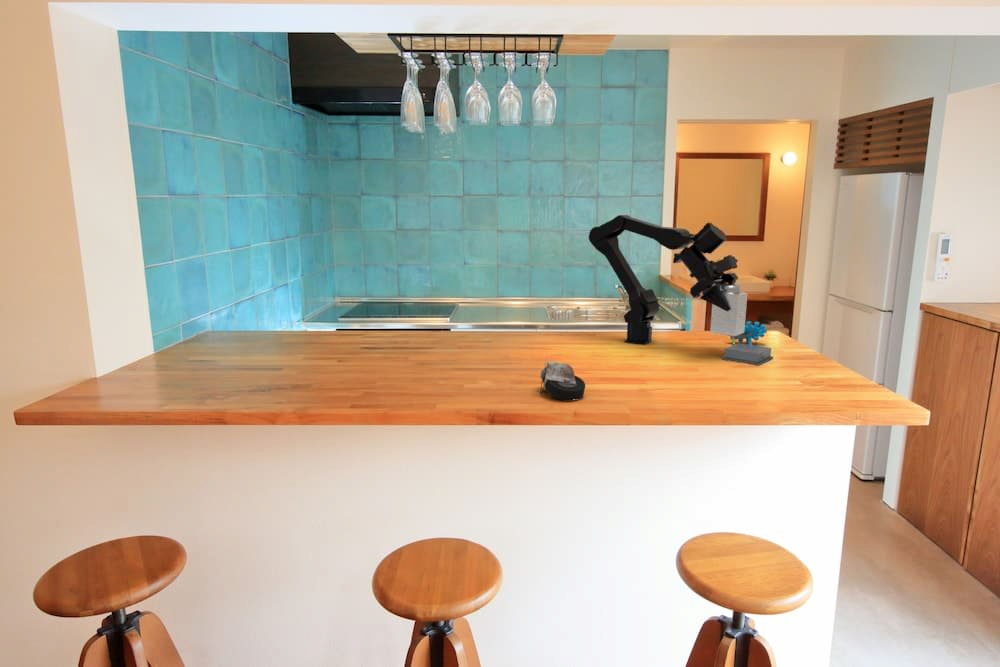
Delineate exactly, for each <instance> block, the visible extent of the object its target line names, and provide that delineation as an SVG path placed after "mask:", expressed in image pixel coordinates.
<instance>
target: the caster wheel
mask: <svg viewBox="0 0 1000 667" xmlns="http://www.w3.org/2000/svg"><path fill="white" fill-rule="evenodd" d="M546 363H547V364H546ZM540 380H541V384H540V390H539V393H541V392H542V387H543V390H544V391H547V393H548V394H549V395H550V396H551V397H552V398H554V399H557V400H560V401H564V400H573V399H579V398H581V397H582V398H584V395H585V389H586V383H585V381H584V379H582V378H581V377H579V376H577V375H575V371H574V368H573V367H572V366H571V365H570V364H568V363H563V362H558V361H552V360H548V361H547V355H546V356H545V361H544V367H543V369H542V370H541V371H540ZM542 385H543V386H542ZM582 398H581V399H582ZM579 400H580V399H579Z"/></svg>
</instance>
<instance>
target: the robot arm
mask: <svg viewBox="0 0 1000 667" xmlns="http://www.w3.org/2000/svg"><path fill="white" fill-rule="evenodd" d="M625 231H628V232H631V233H634V234H637V235H639V236H642V237H646V238H649V239H652V240H654V241H656V242H657V243H658V244H659V245H661V246H663V247H665V248H666V249H668V250H670V251H672V250H681V251H680V252H679V253H677V252H676V253H673V259H672V260H673V261H672V263H673V264H679V263H682V264H684V266H685V267H686V268H687V269H688V271H689V272H690V274H689V277H691V279H692V278H695V279H696V281H697V282H696V283H695V284H693V285H692V286H691V287H690V290H689V293H690V295H691V297H692V298H693V299H698V298H699V299H700V300H703V301H705V302H708V303H710V304H711V305H712V304H713V305H715V306H717V307H719V308H721V309H723V310H725V311H729V310H730V307H729V305H728V303H727V302H726V300H725V299H724V297H723V295H722V294H721V292H720V291H721V285H723V284H733V285H736V281H738V279H739V277H738V275H737V274H736V273H735V272H727V271H730V270H733V269H737V268H738V264H737V263H738V261H739V260H738V259H737V258H736V257H735V256H733V254H728V255H726V256H723V258H722V259H721V260H720V259H719V260H717V261H714V260H709V259H708V258H707V257H706V255H705V254H709V255H711V254H713V253H714V252H715V250H718V248H719V247H720V246H721V245H723V243H725V242H726V241H727V239H728V238H727V235H726V233H725V232H724V231H723V230H722V229H720V228H719V227H717V226H716V225H714V224H713V223H712V222H706V224H704V226H703V227H702V229H700V230H699V231H698V232H697V233H695V234H694V233H690V231H689V230H688V229H686V228H680V227H668V226H661V225H659V224H655V223H652V222H649V221H645V220H641V219H638V218H635V217H632V216H630V215H628V214H619V215H616V216H615V217H614V218H612V219H610V220H608V221H606V222H605V223H603V224H601V225H599V226H594V227H592V228H591V229H590V231H589V233H588V234H589V235H588V240H589V243H590V244H591V245H592V246H593V247H594V248H595V250H597V251H598V252H599V253H601V254H602V255H603V256H604V257H605V258H606V260H607V262H608V263H609V266H610V267H611V268H612V270H613V272H614V273H615V275H616V277H617V278H618V281H620V283H621V285H622V287H623V288H624V290H625V292H626V294H627V296H628V306H629V308H630V309H629V310H628V311H627V312H626V313H625V314H623V320H624V322H625V323H627V326H626V339H625V340H624V342H625V343H633V344H640V345H646V344H648V343H650V342H651V341H653V327H652V326H651V325H652V324H651V323H652V322H651V321H654V318H655V316H656V315H657V314H658V313H659V310H660V303H659V301H660V299H659V298H658V297H657V296H656V294H655V291H654V290H653V289H652V288H649V289H646V288H644V287H643V285H642V284H641V283H640V281H639V279H638V278H637V275H636V274H635V272H634V271H633V269H632V268H631V266H630V264H629V262H628V260H626V257H625V256H624V254H623V252H622V251H621V249H620V244H619V238H618V237H619V236H621V235H622V234H623V233H624V232H625ZM689 245H690V246H689ZM725 272H726V273H725ZM701 294H702V295H701Z"/></svg>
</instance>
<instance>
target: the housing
mask: <svg viewBox="0 0 1000 667" xmlns="http://www.w3.org/2000/svg"><path fill="white" fill-rule="evenodd" d="M720 292H721V294H722V295H723V297H724V299H725V300H726V302H727V303H728V305H729V307H730V310H729V311H725V310H723V309H721V308H719V307H717V306H715V305H713V304H711V316H710V332H709V333H712V334H719V335H725V336H728V335H731V336H737V335H740V334H742V333H744V330H745V325H746V319H747V318H746V315H747V304H748V294H749V293H748V292H742V291H741V285H739V284H734V285H733V284H723V285H721V291H720Z"/></svg>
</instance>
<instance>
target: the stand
mask: <svg viewBox="0 0 1000 667" xmlns="http://www.w3.org/2000/svg"><path fill="white" fill-rule="evenodd" d="M771 355H772V347H767V346H761V345H755V344H752V345H748V343H742V342H741V343H740V342H738V343H735V345H733V344H732V345H729V346H728V347H725V348H724V355H723V356H722V357H721V360H722V359H725V360H724V361H728V360H731V361H730V362H734V361H737V362H736V363H740V362H743V363H742V364H746V363H749V364H748V365H752V364H755V365H754V366H758V365H759V366H761V365H763V364H765V363H768V362H769V361H771V360H773V359H774V356H771ZM760 364H761V365H760Z"/></svg>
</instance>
